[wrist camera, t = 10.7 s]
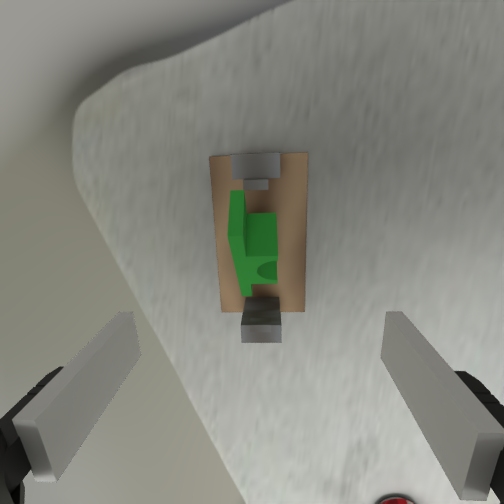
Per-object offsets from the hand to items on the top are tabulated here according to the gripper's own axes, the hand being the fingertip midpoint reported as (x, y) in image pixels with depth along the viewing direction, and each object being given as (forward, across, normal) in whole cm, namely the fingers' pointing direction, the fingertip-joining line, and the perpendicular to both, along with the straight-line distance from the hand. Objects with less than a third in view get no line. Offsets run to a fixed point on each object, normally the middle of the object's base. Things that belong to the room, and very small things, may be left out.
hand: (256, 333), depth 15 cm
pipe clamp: (+14, +1, -2) cm, 14 cm away
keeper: (+19, 0, 0) cm, 19 cm away
